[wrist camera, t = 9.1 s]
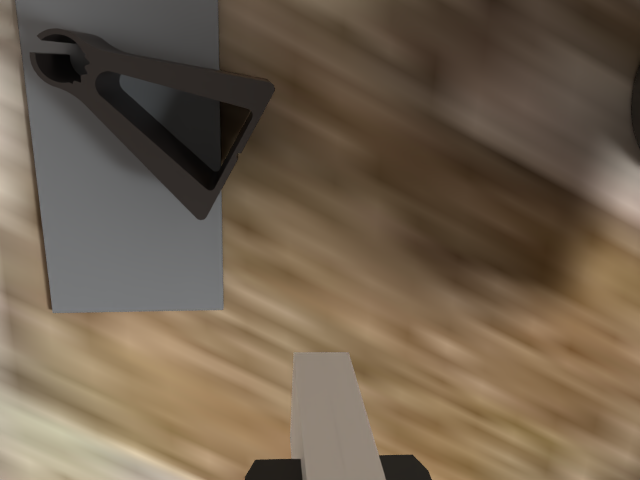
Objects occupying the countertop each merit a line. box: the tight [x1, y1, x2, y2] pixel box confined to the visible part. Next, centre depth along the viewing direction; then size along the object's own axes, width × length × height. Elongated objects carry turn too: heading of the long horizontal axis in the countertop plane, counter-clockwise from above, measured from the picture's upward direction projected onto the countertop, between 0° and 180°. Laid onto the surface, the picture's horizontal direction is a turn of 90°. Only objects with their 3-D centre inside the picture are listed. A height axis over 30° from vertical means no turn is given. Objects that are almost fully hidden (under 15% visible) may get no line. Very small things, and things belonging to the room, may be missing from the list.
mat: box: [15, 0, 223, 313], centre depth 37 cm, size 12×22×1 cm, turn 178°
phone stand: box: [30, 28, 275, 220], centre depth 33 cm, size 9×6×12 cm
